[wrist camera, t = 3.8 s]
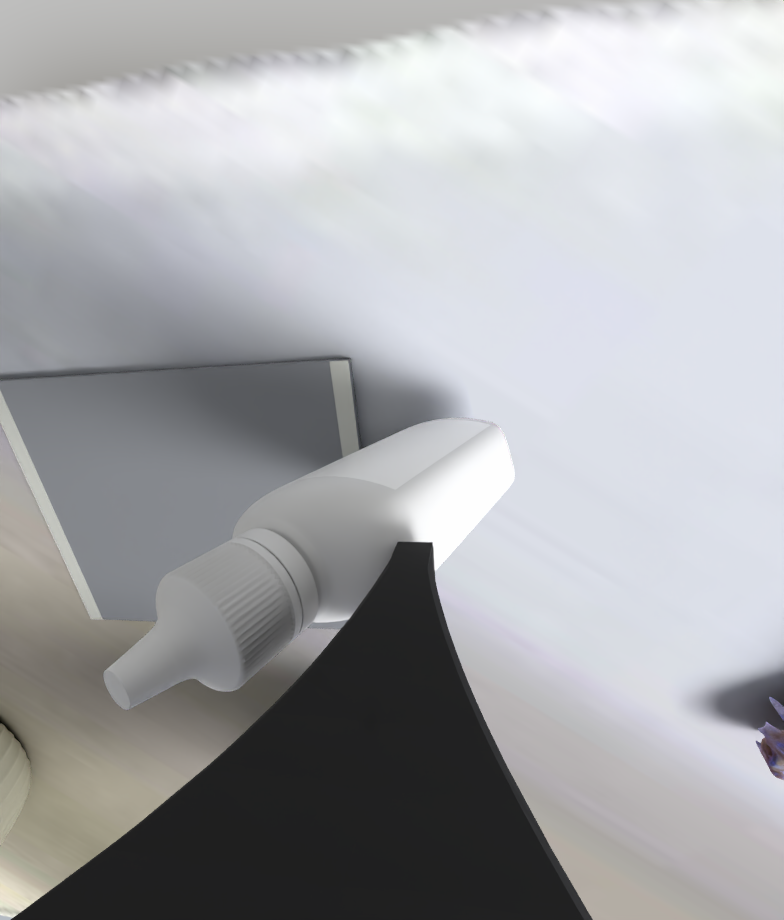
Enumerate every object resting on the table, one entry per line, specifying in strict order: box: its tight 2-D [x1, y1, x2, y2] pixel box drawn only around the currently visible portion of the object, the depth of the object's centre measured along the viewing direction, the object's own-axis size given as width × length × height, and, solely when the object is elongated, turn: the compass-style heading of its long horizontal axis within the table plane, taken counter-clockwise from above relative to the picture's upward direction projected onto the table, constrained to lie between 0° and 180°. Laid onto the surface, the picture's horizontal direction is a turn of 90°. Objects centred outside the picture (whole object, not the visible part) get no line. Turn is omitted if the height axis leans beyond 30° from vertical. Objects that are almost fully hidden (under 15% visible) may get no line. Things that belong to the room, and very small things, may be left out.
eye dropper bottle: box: [103, 418, 515, 710], centre depth 11 cm, size 4×6×12 cm
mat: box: [0, 358, 362, 629], centre depth 20 cm, size 13×16×1 cm
